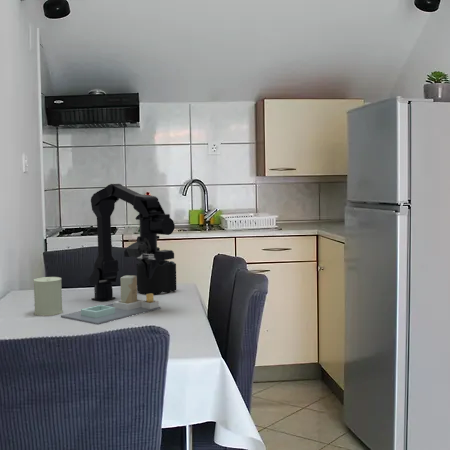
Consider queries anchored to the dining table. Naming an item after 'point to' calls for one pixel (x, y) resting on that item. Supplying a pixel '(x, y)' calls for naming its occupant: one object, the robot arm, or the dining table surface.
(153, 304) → the frame
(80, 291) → the dining table surface
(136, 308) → the grey board
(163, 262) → the black basket
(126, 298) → the box
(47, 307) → the can
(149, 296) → the button
